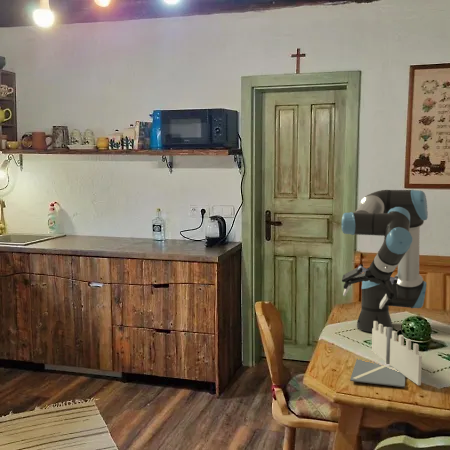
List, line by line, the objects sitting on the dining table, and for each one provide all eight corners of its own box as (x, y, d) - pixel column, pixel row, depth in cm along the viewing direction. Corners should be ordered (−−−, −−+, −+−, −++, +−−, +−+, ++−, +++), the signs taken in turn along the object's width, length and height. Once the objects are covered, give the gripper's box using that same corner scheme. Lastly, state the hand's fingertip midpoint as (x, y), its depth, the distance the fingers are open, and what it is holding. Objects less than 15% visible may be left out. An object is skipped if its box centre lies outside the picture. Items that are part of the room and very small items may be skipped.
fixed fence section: (392, 365, 209) (393, 328, 207) (387, 365, 208) (388, 328, 207) (375, 352, 223) (376, 318, 221) (370, 353, 222) (371, 318, 221)
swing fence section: (389, 364, 208) (390, 330, 207) (392, 364, 208) (393, 329, 207) (418, 385, 189) (419, 347, 187) (420, 385, 189) (422, 346, 187)
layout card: (359, 351, 226) (359, 349, 226) (406, 355, 220) (406, 354, 220) (350, 380, 195) (350, 379, 195) (404, 387, 189) (404, 385, 189)
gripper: (346, 260, 186) (327, 296, 202) (419, 285, 184) (395, 319, 200) (349, 244, 191) (331, 280, 207) (421, 268, 189) (396, 302, 205)
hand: (362, 299), depth 203 cm, fingers open, 13 cm apart
